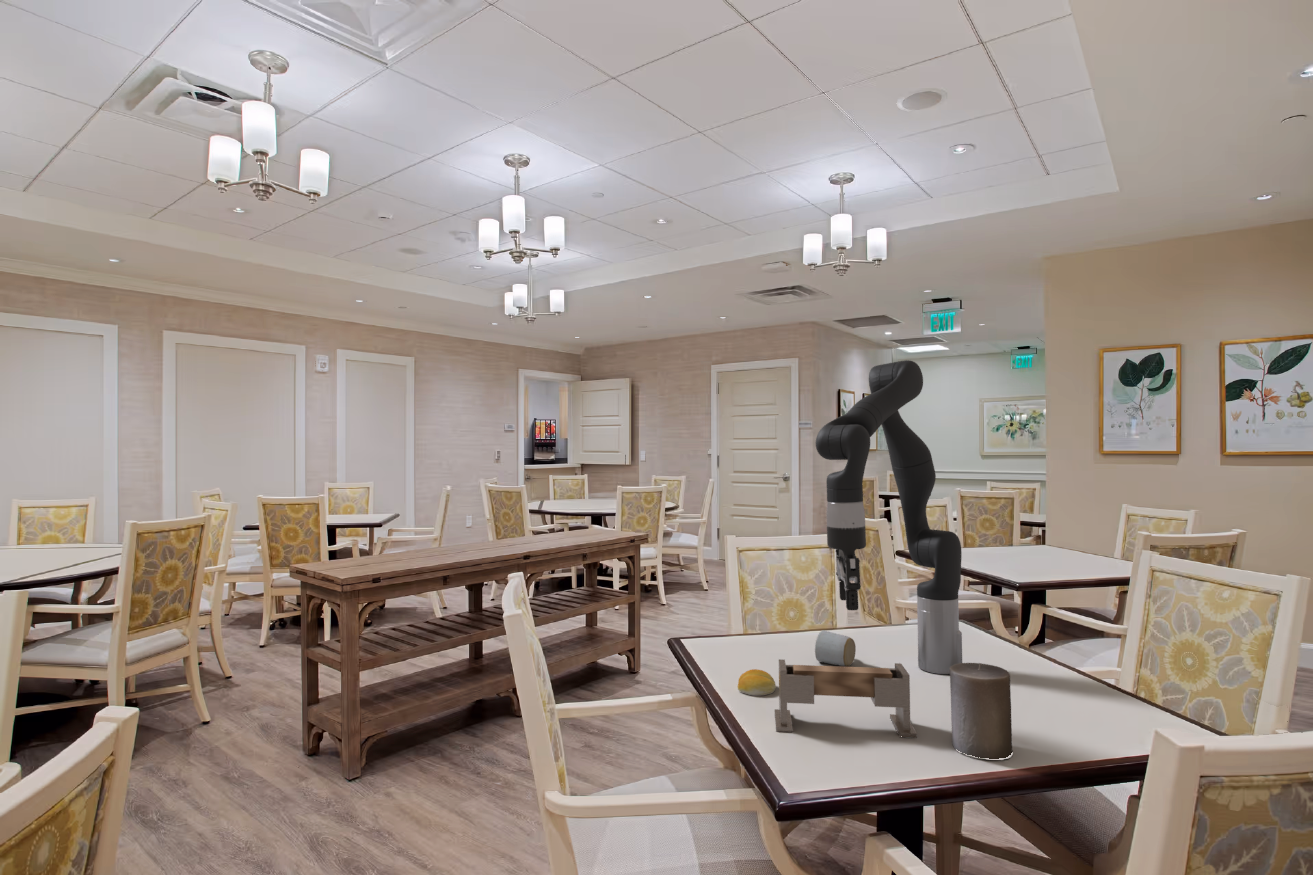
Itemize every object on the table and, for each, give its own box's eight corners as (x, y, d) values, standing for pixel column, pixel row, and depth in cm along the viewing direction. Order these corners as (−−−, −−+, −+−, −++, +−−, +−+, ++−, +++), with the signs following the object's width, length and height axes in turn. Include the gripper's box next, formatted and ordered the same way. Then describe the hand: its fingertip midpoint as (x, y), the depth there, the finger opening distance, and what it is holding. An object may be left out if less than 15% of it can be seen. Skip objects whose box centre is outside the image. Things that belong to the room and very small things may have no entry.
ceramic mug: (846, 670, 163) (846, 638, 163) (814, 664, 167) (814, 633, 168) (861, 660, 171) (861, 629, 171) (830, 655, 176) (830, 625, 176)
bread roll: (736, 696, 146) (736, 677, 146) (739, 682, 155) (739, 665, 155) (775, 698, 145) (775, 679, 145) (776, 684, 154) (775, 666, 154)
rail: (888, 691, 130) (888, 668, 131) (892, 698, 127) (892, 673, 127) (793, 687, 133) (793, 664, 133) (794, 694, 129) (794, 670, 130)
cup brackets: (905, 719, 132) (904, 662, 133) (917, 737, 123) (915, 676, 124) (774, 713, 136) (773, 657, 136) (776, 731, 127) (775, 671, 127)
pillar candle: (1024, 752, 117) (1021, 664, 118) (992, 766, 112) (989, 674, 112) (971, 734, 125) (969, 652, 126) (939, 746, 120) (937, 660, 121)
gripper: (871, 528, 129) (875, 613, 129) (858, 519, 143) (861, 596, 143) (831, 528, 130) (834, 613, 130) (822, 520, 144) (825, 596, 144)
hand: (848, 604), depth 137 cm, fingers open, 8 cm apart
